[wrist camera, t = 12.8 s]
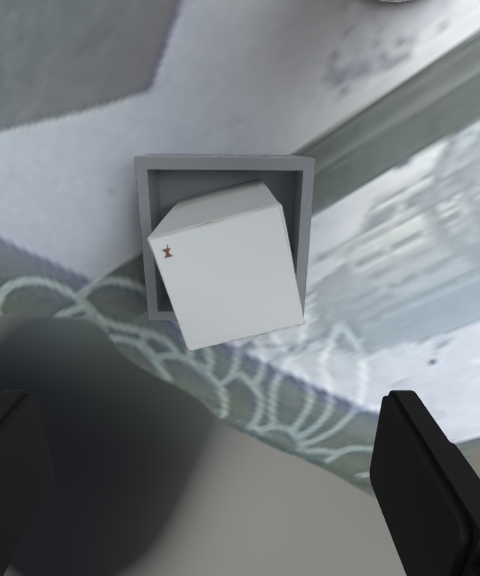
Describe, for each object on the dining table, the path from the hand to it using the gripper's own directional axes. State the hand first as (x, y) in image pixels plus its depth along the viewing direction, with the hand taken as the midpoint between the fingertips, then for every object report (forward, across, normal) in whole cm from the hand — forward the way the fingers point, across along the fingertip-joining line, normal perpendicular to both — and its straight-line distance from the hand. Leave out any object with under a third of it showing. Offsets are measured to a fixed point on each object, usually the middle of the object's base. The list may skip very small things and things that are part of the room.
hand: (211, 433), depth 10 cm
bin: (+25, 0, 0) cm, 25 cm away
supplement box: (+24, 0, 0) cm, 24 cm away
